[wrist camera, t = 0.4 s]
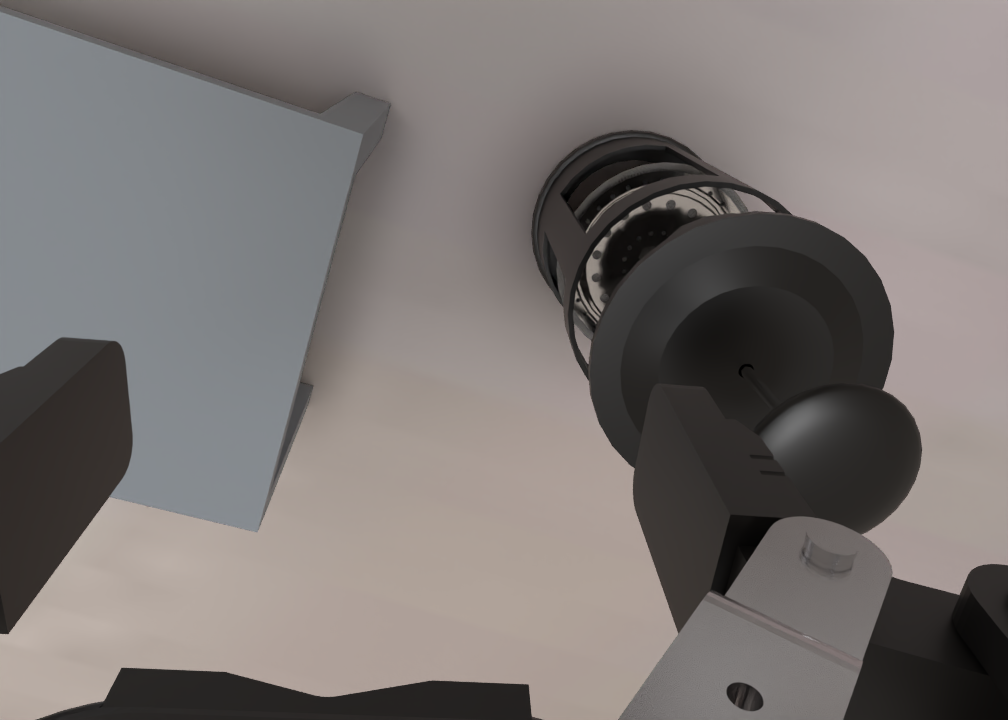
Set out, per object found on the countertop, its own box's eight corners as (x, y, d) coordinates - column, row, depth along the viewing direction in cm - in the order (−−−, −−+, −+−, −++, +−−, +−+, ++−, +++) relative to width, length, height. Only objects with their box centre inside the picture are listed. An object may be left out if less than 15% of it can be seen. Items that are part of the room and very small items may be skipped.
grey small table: (-85, -62, 32) (-344, -105, 21) (390, 103, 35) (363, 134, 25) (-104, 294, 37) (-316, 394, 27) (307, 405, 41) (257, 532, 31)
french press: (490, 278, 39) (529, 578, 18) (564, 93, 36) (720, 188, 14) (698, 353, 41) (954, 698, 20) (785, 185, 38) (1202, 385, 17)
